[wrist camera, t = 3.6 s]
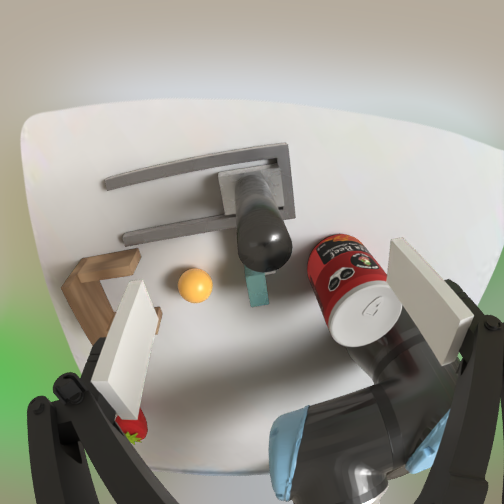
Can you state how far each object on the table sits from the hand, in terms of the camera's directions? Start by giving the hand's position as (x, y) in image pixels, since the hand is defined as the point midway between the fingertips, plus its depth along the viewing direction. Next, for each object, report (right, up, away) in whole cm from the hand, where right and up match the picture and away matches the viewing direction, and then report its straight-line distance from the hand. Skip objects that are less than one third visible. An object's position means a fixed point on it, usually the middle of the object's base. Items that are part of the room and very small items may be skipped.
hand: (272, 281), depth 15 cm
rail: (-7, +8, +16) cm, 19 cm away
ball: (-8, -1, +21) cm, 22 cm away
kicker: (0, +4, +18) cm, 19 cm away
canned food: (+9, +1, +22) cm, 24 cm away
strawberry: (-23, -27, +34) cm, 49 cm away
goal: (-18, -3, +21) cm, 28 cm away
